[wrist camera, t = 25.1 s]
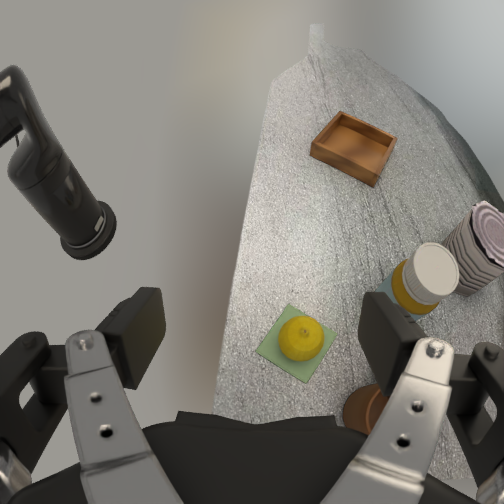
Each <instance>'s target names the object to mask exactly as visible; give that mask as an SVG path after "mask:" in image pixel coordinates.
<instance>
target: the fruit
mask: <svg viewBox="0 0 504 504" xmlns="http://www.w3.org/2000/svg"><path fill="white" fill-rule="evenodd" d="M324 338H325V336H324V332H323V329H322V327H321V325H320V324H319V323H318V322H317V321H316V320H315V319H313V318H311V317H309V316H296V317H293V318H291V319H289V320H288V321H287V322H286V323H284V324H283V326H282V327H281V329H280V332H279V336H278V342H279V347H280V349H281V351H282V353H283V354H284V355H285V356H286V357H288V358H290V359H292V360H294V361H300V362H301V361H308V360H310V359H312V358H314V357H315V356H316V355H317V354H319V352H320V351H321V349H322V347H323V345H324Z"/></svg>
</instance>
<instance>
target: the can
mask: <svg viewBox="0 0 504 504" xmlns="http://www.w3.org/2000/svg"><path fill="white" fill-rule="evenodd" d="M441 245H442V246H443V247H445V248H446V249H447V250H448V251H449V252H450V253H451V254H452V255H453V257H454V258H455V260H456V262H457V265H458V269H459V281H458V284H457V286H456V288H455V290H454V291H453V292H455V293H457V294H460V295H463V296H466V297H468V296H470V295H472V294H473V293H475V292H477V291H478V290H480V289H481V288H483V287H484V286H486V285H487V284H488V283H490V282H491V281H493V280H494V279H495V278H497V277H498V276H499V275H501V274H502V273H503V272H504V214H503V213H502V212H500V211H499V210H498V209H496V208H495V207H493V206H492V205H491V204H489V203H488V202H486V201H482V202H480V203H477V204H475V205H472V209H471V210H470V212H469V213H468V214H467V215H466V216H465V217H464V219H463V220H462V221H461V222H460V223H459V224H458V226H457V227H456V228H455V229H454V230H453V231H452V232H451V234H450V235H449V236H448V237H447V238H446V239H445V240H444V241H443V242H442V243H441Z"/></svg>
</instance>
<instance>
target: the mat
mask: <svg viewBox="0 0 504 504" xmlns="http://www.w3.org/2000/svg"><path fill="white" fill-rule="evenodd" d="M296 316H308V315H306V314H304V313H303V312H301V311H299V310H298V309H296V308H295V307H293V306H291V305H290V304H288V306H287V307H286V308H285V310H284V311H283V313H282V314H281V316H280V317H279V319H278V320H277V322H276V323H275V324H274V326H273V327H272V329H271V330H270V332H269V333H268V334H267V336H266V337H265V339H264V340H263V341H262V343H261V344H260V346H259V347H258V348H257V350H256V352H257V353H258V354H260V355H261V356H263V357H264V358H266V359H267V360H269V361H270V362H272V363H274V364H275V365H277V366H278V367H280V368H281V369H283V370H284V371H286V372H288V373H289V374H291V375H292V376H294V377H296V378H297V379H299V380H301V381H302V382H304V383H305V384H306V383H307V382H308V380H309V379H310V377H311V376H312V374H313V373H314V371H315V370H316V368H317V367H318V365H319V363H320V362H321V360H322V359H323V357H324V355H325V354H326V352H327V351H328V349H329V347H330V346H331V344H332V342H333V341H334V339H335V337H336V336H337V333H335V332H334V331H332V330H330V329H329V328H327V327H325V326H324V325H322V324H321V323H319V322H318V323H319V324H320V325H321V327H322V329H323V332H324V336H325V338H324V345H323V347H322V349H321V351H320V352H319V354H317V355H316V356H315V357H314V358H312V359H310V360H308V361H301V362H300V361H294V360H292V359H290V358H288V357H286V356H285V355H284V354H283V353H282V351H281V349H280V347H279V342H278V336H279V332H280V329H281V327H282V326H283V324H284V323H286V322H287V321H288V320H289V319H291V318H293V317H296Z"/></svg>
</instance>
